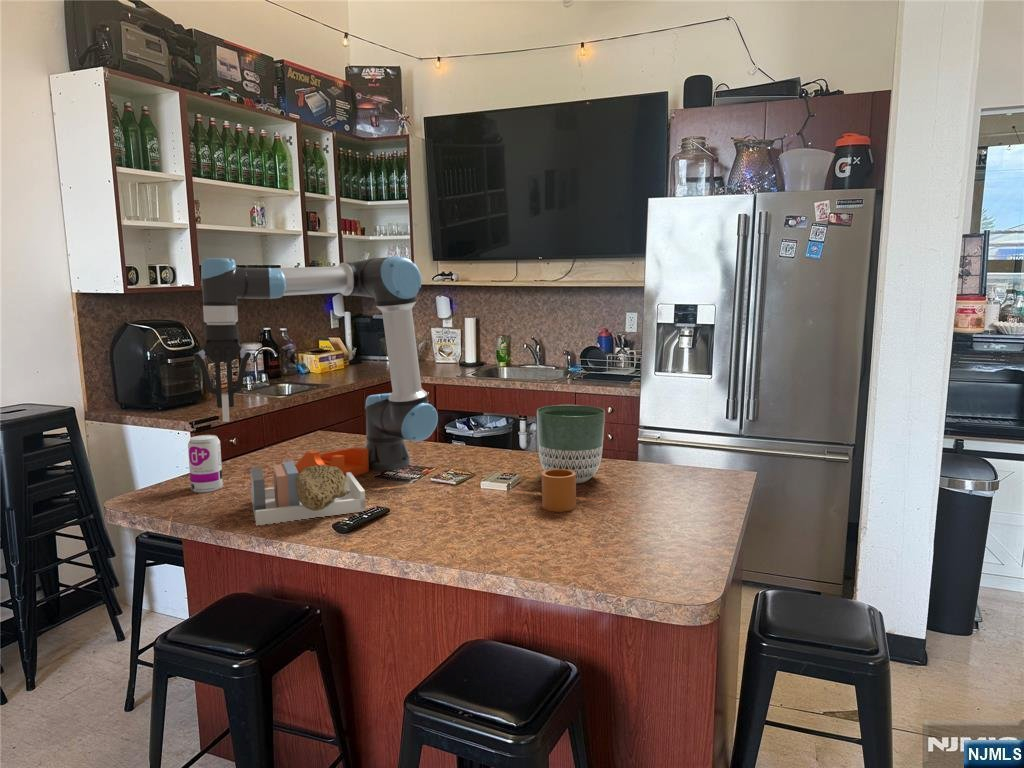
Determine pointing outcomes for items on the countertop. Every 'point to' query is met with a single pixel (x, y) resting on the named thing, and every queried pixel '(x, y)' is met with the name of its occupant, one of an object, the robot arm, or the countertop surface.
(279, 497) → the book row
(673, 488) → the countertop surface
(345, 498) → the white tray
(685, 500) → the countertop surface
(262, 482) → the dark gray book
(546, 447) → the planter
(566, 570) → the countertop surface
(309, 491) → the sponge
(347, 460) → the tape dispenser
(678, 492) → the countertop surface
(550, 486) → the mug
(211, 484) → the supplement can
